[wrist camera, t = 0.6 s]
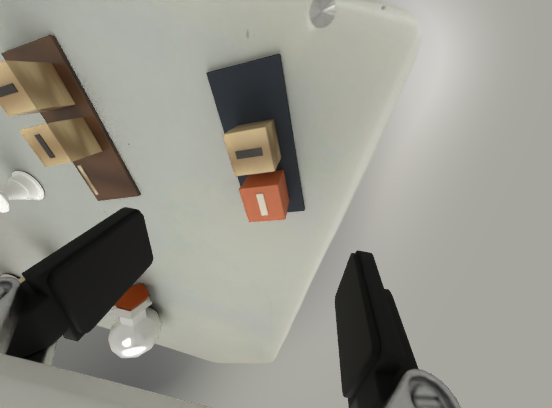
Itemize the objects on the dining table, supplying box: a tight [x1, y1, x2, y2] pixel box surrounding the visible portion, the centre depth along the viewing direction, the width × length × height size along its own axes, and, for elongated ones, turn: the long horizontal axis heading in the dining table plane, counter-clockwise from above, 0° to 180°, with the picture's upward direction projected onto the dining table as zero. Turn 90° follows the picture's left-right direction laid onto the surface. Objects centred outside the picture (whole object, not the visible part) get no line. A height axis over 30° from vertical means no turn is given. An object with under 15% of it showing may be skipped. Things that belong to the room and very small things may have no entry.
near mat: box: [207, 54, 305, 212], centre depth 27 cm, size 18×8×1 cm, turn 11°
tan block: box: [223, 119, 281, 176], centre depth 24 cm, size 4×4×5 cm
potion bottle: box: [108, 284, 162, 358], centre depth 45 cm, size 9×10×15 cm
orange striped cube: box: [239, 170, 289, 222], centre depth 27 cm, size 4×4×5 cm
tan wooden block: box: [0, 61, 75, 116], centre depth 25 cm, size 4×4×5 cm
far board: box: [1, 35, 141, 201], centre depth 30 cm, size 20×8×1 cm, turn 11°
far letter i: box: [19, 117, 102, 167], centre depth 28 cm, size 4×4×5 cm
